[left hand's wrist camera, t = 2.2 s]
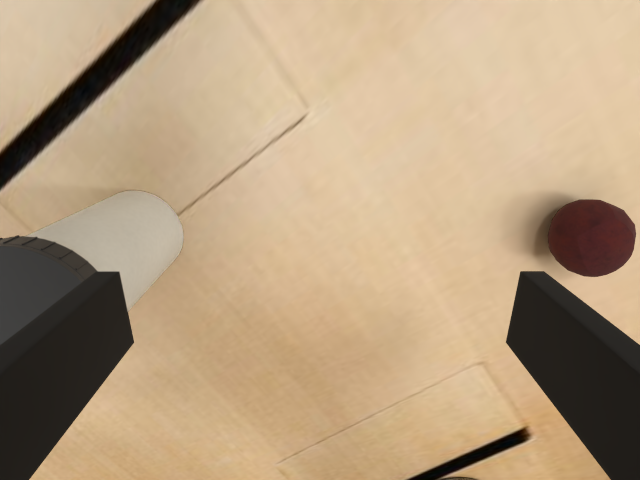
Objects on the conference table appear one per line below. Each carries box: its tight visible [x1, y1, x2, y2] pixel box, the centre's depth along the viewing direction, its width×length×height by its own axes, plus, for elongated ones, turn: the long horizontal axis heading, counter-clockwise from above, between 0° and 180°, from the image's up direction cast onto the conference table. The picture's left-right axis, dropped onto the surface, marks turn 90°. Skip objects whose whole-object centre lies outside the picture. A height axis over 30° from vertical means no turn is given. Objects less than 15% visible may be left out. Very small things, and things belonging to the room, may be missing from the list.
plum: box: [548, 200, 636, 277], centre depth 38 cm, size 7×8×7 cm
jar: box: [25, 190, 184, 311], centre depth 33 cm, size 9×9×17 cm
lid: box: [0, 235, 97, 345], centre depth 26 cm, size 10×10×2 cm
